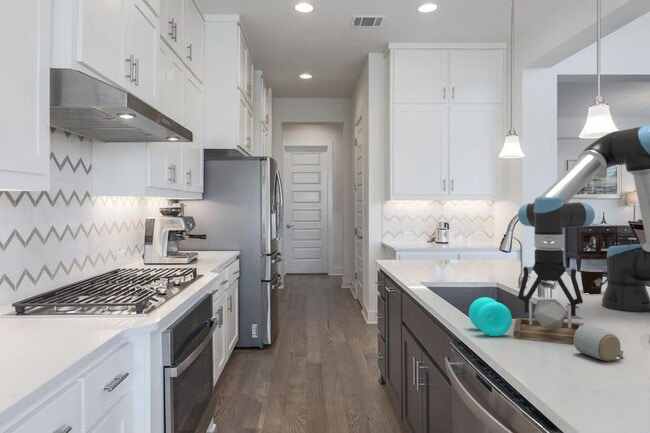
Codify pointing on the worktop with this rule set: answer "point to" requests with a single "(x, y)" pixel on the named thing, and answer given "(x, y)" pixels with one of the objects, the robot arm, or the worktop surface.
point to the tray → (544, 331)
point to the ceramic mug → (597, 343)
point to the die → (549, 313)
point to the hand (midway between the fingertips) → (549, 325)
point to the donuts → (497, 320)
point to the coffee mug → (592, 280)
